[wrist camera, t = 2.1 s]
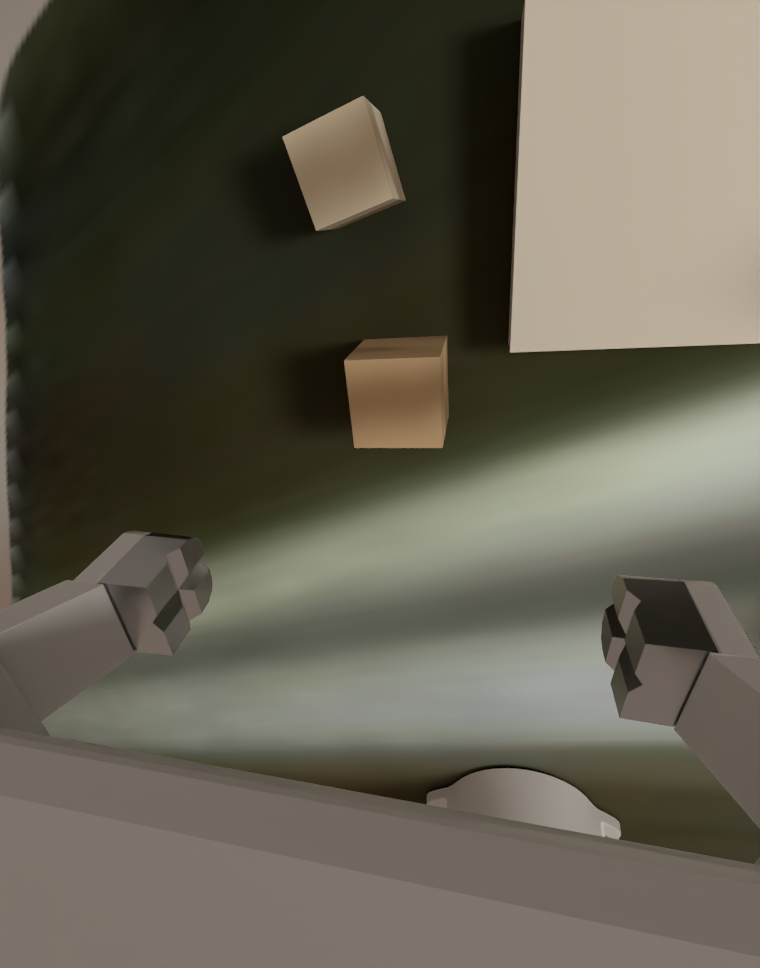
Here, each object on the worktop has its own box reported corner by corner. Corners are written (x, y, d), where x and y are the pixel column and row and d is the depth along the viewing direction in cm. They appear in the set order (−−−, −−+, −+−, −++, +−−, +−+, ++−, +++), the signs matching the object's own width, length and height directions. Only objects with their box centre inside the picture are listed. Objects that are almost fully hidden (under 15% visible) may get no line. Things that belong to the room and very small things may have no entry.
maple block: (405, 200, 26) (393, 198, 22) (338, 228, 27) (316, 230, 23) (380, 112, 24) (363, 95, 21) (310, 147, 25) (282, 136, 22)
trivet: (787, 330, 25) (815, 341, 23) (508, 342, 28) (510, 352, 26) (902, -47, 18) (957, -82, 16) (521, 19, 21) (525, -3, 19)
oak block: (448, 415, 31) (442, 447, 27) (372, 416, 32) (354, 447, 28) (447, 335, 28) (439, 356, 24) (364, 339, 30) (343, 360, 25)
